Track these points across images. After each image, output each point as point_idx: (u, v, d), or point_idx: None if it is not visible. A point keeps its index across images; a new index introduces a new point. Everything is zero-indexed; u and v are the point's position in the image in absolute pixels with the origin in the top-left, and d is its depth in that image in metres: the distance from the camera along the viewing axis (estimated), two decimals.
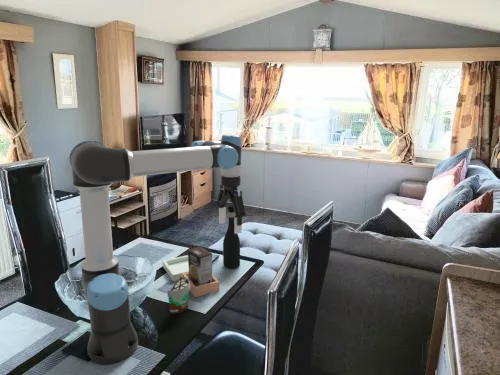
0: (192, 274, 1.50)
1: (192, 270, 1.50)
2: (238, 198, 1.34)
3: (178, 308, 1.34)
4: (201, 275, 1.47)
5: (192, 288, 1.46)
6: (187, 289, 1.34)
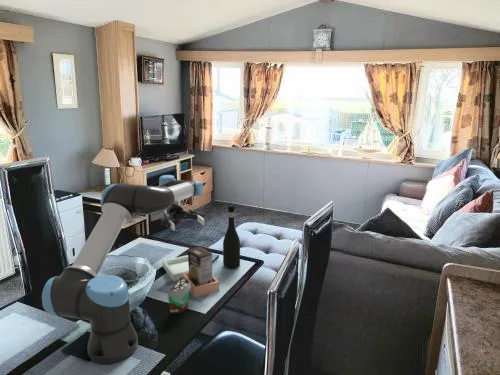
0: (192, 274, 1.50)
1: (192, 270, 1.50)
2: None
3: (178, 308, 1.34)
4: (201, 275, 1.47)
5: (192, 288, 1.46)
6: (187, 289, 1.34)
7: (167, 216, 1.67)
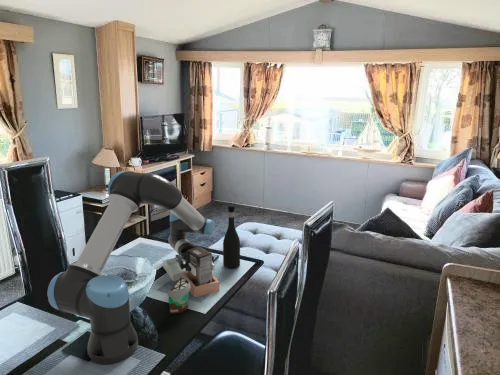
0: (192, 274, 1.50)
1: None
2: None
3: (178, 308, 1.34)
4: (201, 275, 1.47)
5: (192, 288, 1.46)
6: (187, 289, 1.34)
7: (180, 257, 1.57)
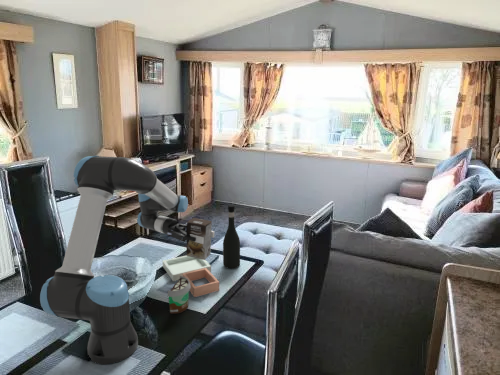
0: (193, 244, 1.54)
1: (193, 241, 1.54)
2: None
3: (178, 308, 1.34)
4: (205, 243, 1.53)
5: (192, 288, 1.46)
6: (187, 289, 1.34)
7: None
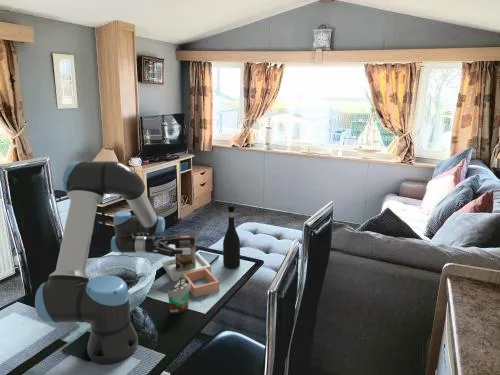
0: (183, 258, 1.62)
1: (182, 255, 1.62)
2: None
3: (178, 308, 1.34)
4: (195, 254, 1.63)
5: (192, 288, 1.46)
6: (187, 289, 1.34)
7: None
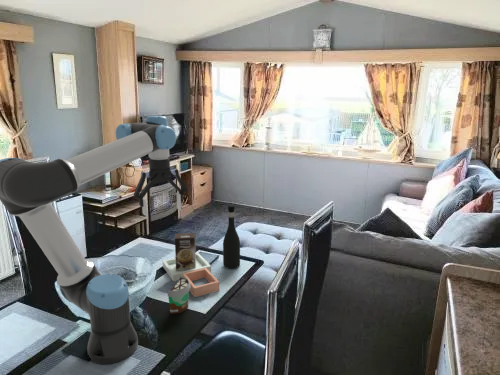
0: (183, 258, 1.62)
1: (182, 255, 1.62)
2: None
3: (178, 308, 1.34)
4: (195, 254, 1.64)
5: (192, 288, 1.46)
6: (187, 289, 1.34)
7: (146, 177, 1.34)
